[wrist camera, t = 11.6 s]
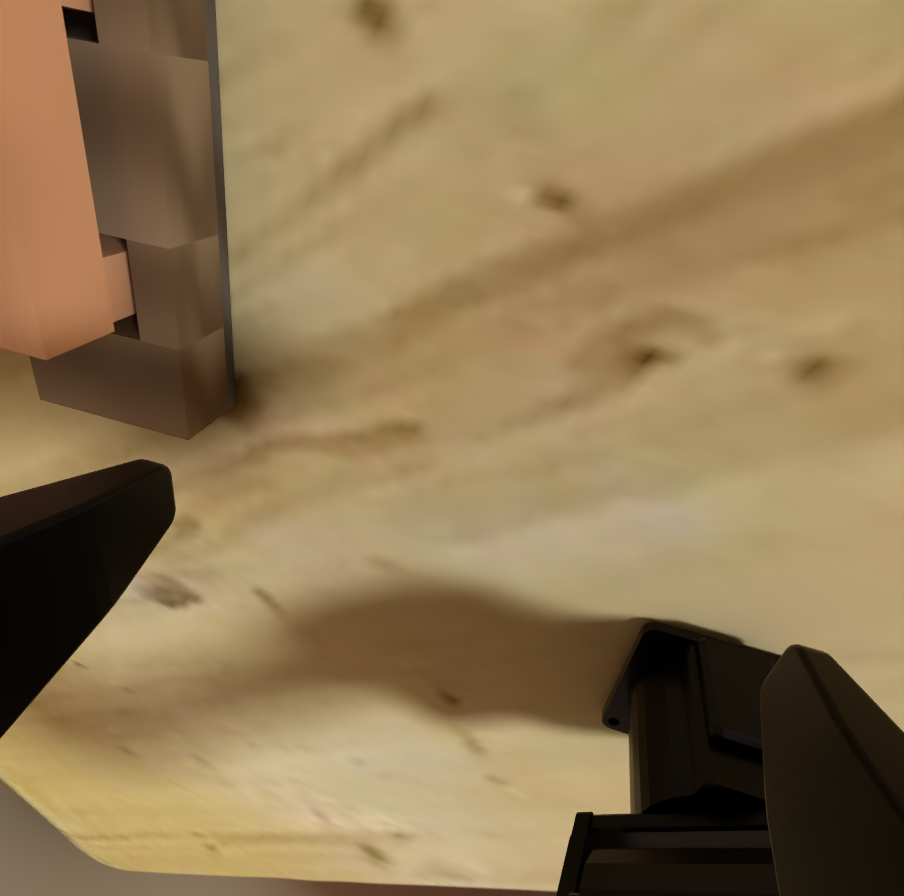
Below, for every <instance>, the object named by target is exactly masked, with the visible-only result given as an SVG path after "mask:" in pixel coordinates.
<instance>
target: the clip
mask: <svg viewBox="0 0 904 896" xmlns="http://www.w3.org/2000/svg"><path fill="white" fill-rule="evenodd" d="M62 8H65V9H70V10H75V11H80V12H85V13H90V14H95V12H94V5H93V0H0V348H2V349H5V350H9V351H13V352H17V353H21V354H24V355H28V356H32V357H36V358H39V359H43V360H48V359H51V358H53V357H55V356H58V355H60V354H63V353H65V352H67V351H70V350H72V349H74V348H77V347H79V346H81V345H84V344H86V343H88V342H91V341H93V340H96V339H98V338H100V337H103V336H105V335H107V334H110V333H112V332H114V331H115V330H114V324H113V322H116V321H118V320H120V319H123V318H125V317H128V316H130V315H133V314H135V313H137V312H136V305H135V298H134V291H133V284H132V277H131V270H130V262H129V255H128V248H127V241H126V239H123V238H119V237H114V236H110V235H105V234H101V233H99V232H98V226H97V220H96V214H95V208H94V202H93V196H92V190H91V184H90V177H89V171H88V165H87V159H86V153H85V147H84V141H83V135H82V128H81V122H80V116H79V110H78V104H77V98H76V92H75V86H74V80H73V73H72V67H71V61H70V55H69V49H68V43H67V37H66V31H65V25H64V18H63V12H62Z"/></svg>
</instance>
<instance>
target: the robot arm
mask: <svg viewBox="0 0 904 896" xmlns="http://www.w3.org/2000/svg"><path fill="white" fill-rule="evenodd" d="M175 510H176V507H175V499H174V491H173V483H172V475H171V472H170V470H169V468H168V467H167V466H165V465H163V464H159V463H156V462H152V461H149V460H144V459H139V460H135V461H131V462H127V463H124V464H120V465H116V466H113V467H109V468H105V469H102V470H98V471H94V472H91V473H87V474H83V475H80V476H76V477H72V478H69V479H65V480H61V481H58V482H54V483H50V484H47V485H43V486H39V487H36V488H32V489H28V490H25V491H21V492H17V493H14V494H10V495H7V496H3V497H0V738H1V737H2V736H3V735H4V734H5V732H6V731H7V730H8V729H9V728H10V727H11V725H12V724H13V723H14V722H15V721H16V720H17V719H18V717H19V716H20V715H21V714H22V713H23V712H24V710H25V709H26V708H27V707H28V706H29V705H30V703H31V702H32V701H33V700H34V699H35V698H36V696H37V695H38V694H39V693H40V692H41V691H42V689H43V688H44V687H45V686H46V685H47V684H48V682H49V681H50V680H51V679H52V678H53V677H54V675H55V674H56V673H57V672H58V671H59V670H60V668H61V667H62V666H63V665H64V664H65V663H66V661H67V660H68V659H69V658H70V657H71V656H72V654H73V653H74V652H75V651H76V650H77V649H78V647H79V646H80V645H81V644H82V643H83V642H84V641H85V639H86V638H87V637H88V636H89V635H90V634H91V632H92V631H93V630H94V629H95V628H96V627H97V625H98V624H99V623H100V622H101V621H102V620H103V618H104V617H105V616H106V615H107V613H108V612H109V611H110V610H111V609H112V607H113V606H114V605H115V603H116V602H117V601H118V599H119V598H120V597H121V595H122V594H123V593H124V591H125V590H126V588H127V587H128V586H129V584H130V583H131V581H132V580H133V578H134V577H135V575H136V574H137V573H138V571H139V570H140V568H141V567H142V565H143V564H144V563H145V561H146V560H147V558H148V557H149V555H150V554H151V553H152V551H153V550H154V548H155V547H156V545H157V544H158V543H159V541H160V540H161V538H162V537H163V535H164V534H165V533H166V531H167V530H168V528H169V527H170V525H171V524H172V521H173V519H174V516H175ZM653 634H655V635H659V636H652V635H653ZM602 722H603V724H604V725H605V726H606V727H608V728H611V729H614V730H617V731H620V732H624V733H627V734H629V766H630V806H631V814H602V815H594V814H593V812H577V814H576V817H575V822H574V826H573V830H572V834H571V836H570V839H569V843H568V848H567V852H566V856H565V860H564V865H563V869H562V873H561V878H560V882H559V886H558V890H557V895H556V896H904V732H903V731H902V730H901V729H900V728H899V727H898V726H897V725H896V724H895V723H894V722H893V721H892V720H891V718H890V717H889V716H888V715H887V714H886V713H885V712H884V711H883V710H882V709H881V708H880V707H879V706H878V705H877V704H876V703H875V702H874V701H873V700H872V699H871V698H870V697H869V695H868V694H867V693H866V692H865V691H864V690H863V689H862V688H861V687H860V686H859V685H858V684H857V683H856V682H855V681H854V680H853V679H852V678H851V677H850V676H849V675H848V673H847V672H846V671H845V670H844V669H843V668H842V667H841V666H840V665H839V664H838V663H837V662H836V661H835V660H834V659H833V658H832V657H831V656H830V655H829V654H827V653H825V652H823V651H820V650H816V649H813V648H809V647H806V646H802V645H798V644H796V645H791V646H789V647H788V648H787V649H786V650H785V651H784V653H783V654H782V656H781V657H780V658H779V657H775V656H772V655H768V654H765V653H761V652H758V651H754V650H751V649H748V648H744V647H741V646H737V645H734V644H730V643H727V642H723V641H720V640H716V639H713V638H709V637H706V636H702V635H699V634H695V633H692V632H688V631H685V630H681V629H678V628H674V627H671V626H667V625H664V624H660V623H655V622H652V623H647V624H645V625H644V626H643V627H642V629H641V631H640V633H639V635H638V637H637V640H636V642H635V644H634V646H633V648H632V650H631V652H630V654H629V656H628V659H627V661H626V663H625V665H624V667H623V669H622V671H621V673H620V675H619V677H618V680H617V682H616V684H615V686H614V688H613V690H612V692H611V694H610V696H609V699H608V701H607V703H606V705H605V707H604V709H603V713H602Z"/></svg>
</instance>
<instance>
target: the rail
mask: <svg viewBox="0 0 904 896" xmlns="http://www.w3.org/2000/svg"><path fill="white" fill-rule="evenodd" d="M93 5H94V12H95V14H90V13H85V12H80V11H75V10H70V9H65V8H62V12H63V18H64V25H65V31H66V37H67V43H68V49H69V55H70V61H71V67H72V73H73V80H74V86H75V92H76V98H77V104H78V110H79V116H80V122H81V128H82V135H83V141H84V147H85V153H86V159H87V165H88V171H89V177H90V184H91V190H92V196H93V202H94V208H95V214H96V220H97V226H98V232H99V233H101V234H105V235H110V236H114V237H119V238H123V239H126V241H127V248H128V255H129V262H130V270H131V277H132V284H133V291H134V298H135V305H136V312H137V313H135V314H133V315H130V316H128V317H125V318H123V319H120V320H118V321H116V322H113V324H114V330H115V331H114V332H112V333H110V334H107V335H105V336H103V337H100V338H98V339H96V340H93V341H91V342H88V343H86V344H84V345H81V346H79V347H77V348H74V349H72V350H70V351H67V352H65V353H63V354H60V355H58V356H55V357H53V358H51V359H48V360H43V359H39V358H36V357H32V356H30V360H31V364H32V368H33V372H34V376H35V380H36V384H37V388H38V392H39V396H40V399H41V400H44V401H48V402H51V403H55V404H59V405H62V406H66V407H70V408H73V409H77V410H81V411H84V412H88V413H91V414H95V415H99V416H102V417H106V418H110V419H113V420H117V421H121V422H124V423H128V424H131V425H135V426H139V427H142V428H146V429H150V430H153V431H157V432H161V433H164V434H168V435H171V436H175V437H179V438H182V439H186V440H189V439H191V438H192V437H193V436H195V435H196V434H197V433H199V432H200V431H201V430H203V429H204V428H205V427H207V426H208V425H209V424H211V423H212V422H213V421H215V420H216V419H217V418H219V417H220V416H221V415H223V414H224V413H225V412H227V411H228V410H229V409H231V408H232V407H233V406H235V405H236V402H235V382H234V362H233V343H232V323H231V304H230V284H229V265H228V245H227V226H226V206H225V187H224V167H223V148H222V128H221V109H220V89H219V70H218V50H217V31H216V11H215V0H93Z"/></svg>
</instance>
